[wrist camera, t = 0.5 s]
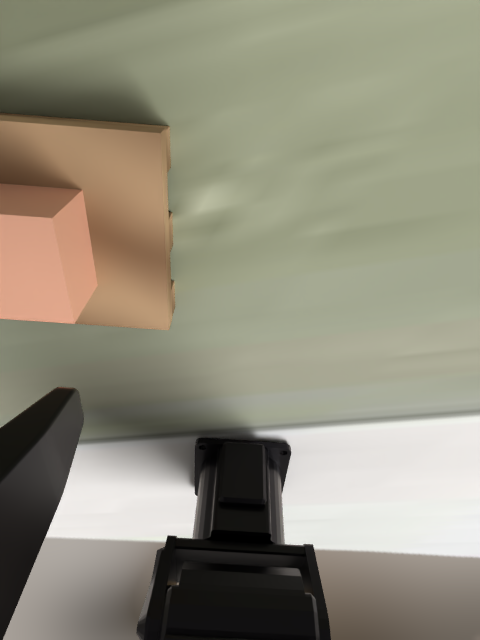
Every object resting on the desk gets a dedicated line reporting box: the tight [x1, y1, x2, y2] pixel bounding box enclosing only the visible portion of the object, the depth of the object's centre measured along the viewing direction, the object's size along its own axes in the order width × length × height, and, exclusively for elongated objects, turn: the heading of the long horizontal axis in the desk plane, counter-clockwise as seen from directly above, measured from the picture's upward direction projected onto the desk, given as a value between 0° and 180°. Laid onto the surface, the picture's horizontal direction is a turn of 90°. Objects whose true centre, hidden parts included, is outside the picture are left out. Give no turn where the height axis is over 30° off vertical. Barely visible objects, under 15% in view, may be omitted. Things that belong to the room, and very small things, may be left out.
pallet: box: [0, 113, 175, 330], centre depth 18 cm, size 9×9×2 cm
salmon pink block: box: [0, 184, 98, 324], centre depth 16 cm, size 4×4×3 cm
